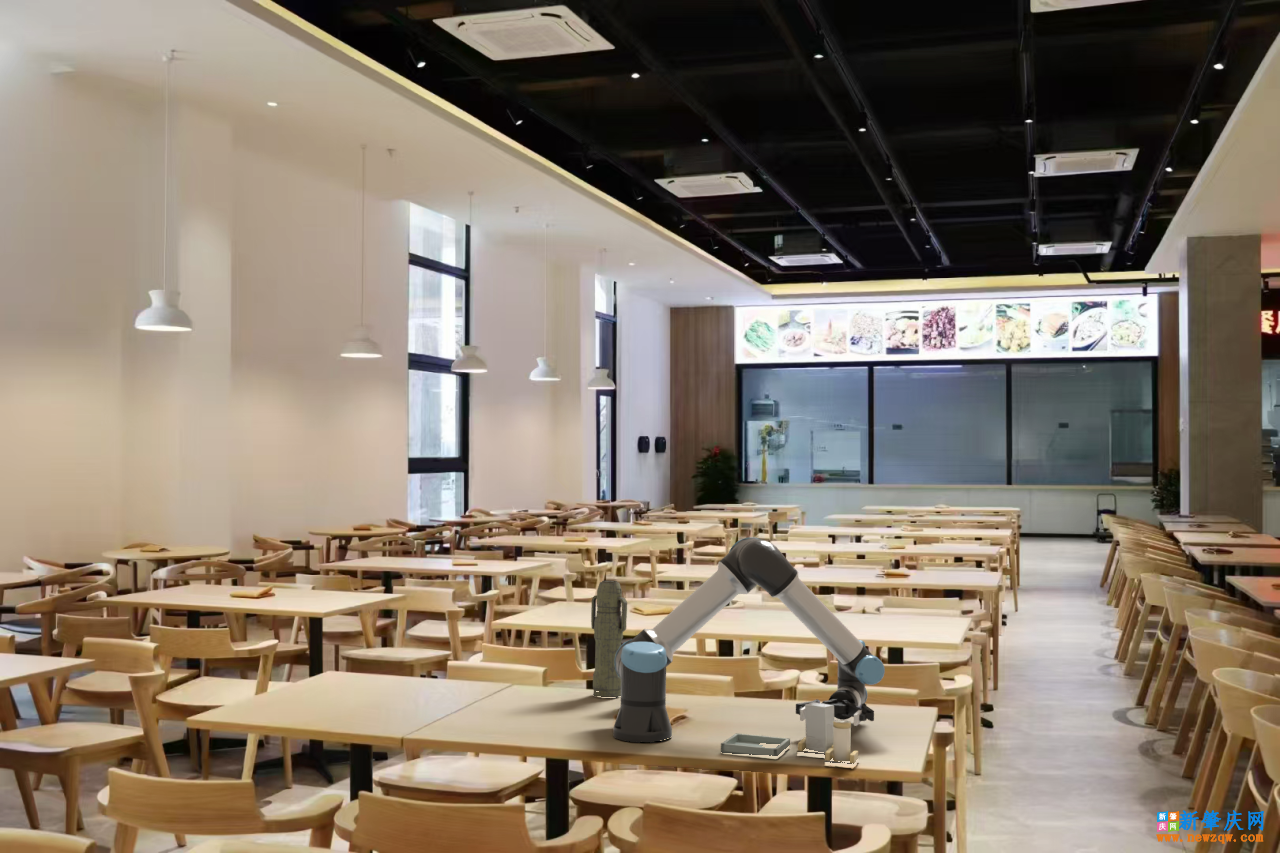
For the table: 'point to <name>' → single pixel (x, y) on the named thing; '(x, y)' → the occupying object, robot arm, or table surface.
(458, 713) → the table surface
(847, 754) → the fuse
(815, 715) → the skincare box
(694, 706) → the table surface
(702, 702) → the table surface
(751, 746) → the tray
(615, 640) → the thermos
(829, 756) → the cream flat frame
